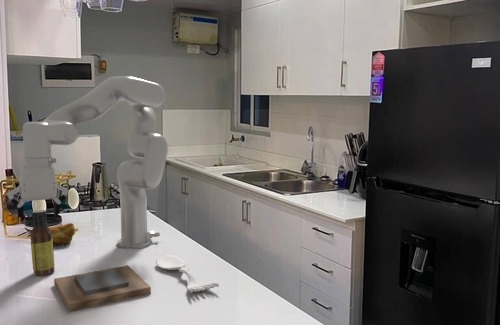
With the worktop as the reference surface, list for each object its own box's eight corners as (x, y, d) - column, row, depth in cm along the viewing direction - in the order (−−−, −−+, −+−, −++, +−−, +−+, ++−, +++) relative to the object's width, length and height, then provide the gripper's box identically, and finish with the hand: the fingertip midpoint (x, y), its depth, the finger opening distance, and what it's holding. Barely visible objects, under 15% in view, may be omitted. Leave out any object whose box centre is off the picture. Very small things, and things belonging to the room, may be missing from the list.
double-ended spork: (190, 301, 129) (190, 289, 128) (151, 264, 156) (151, 254, 155) (220, 294, 133) (220, 282, 133) (177, 260, 161) (177, 250, 160)
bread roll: (42, 251, 168) (41, 229, 167) (33, 244, 175) (32, 223, 174) (77, 243, 176) (77, 223, 175) (67, 238, 183) (67, 218, 182)
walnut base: (127, 271, 149) (127, 262, 149) (150, 293, 133) (150, 283, 132) (54, 285, 137) (53, 275, 137) (69, 311, 121) (68, 300, 120)
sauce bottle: (59, 270, 149) (56, 209, 146) (44, 277, 143) (41, 214, 140) (42, 268, 151) (39, 207, 148) (27, 274, 145) (24, 212, 142)
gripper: (65, 160, 150) (66, 212, 152) (4, 162, 140) (6, 218, 143) (70, 162, 144) (71, 217, 146) (7, 165, 134) (9, 223, 136)
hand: (39, 217), depth 144 cm, fingers open, 9 cm apart
